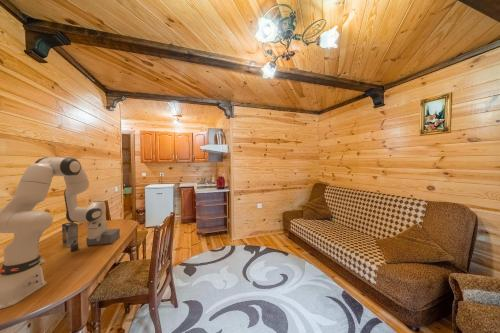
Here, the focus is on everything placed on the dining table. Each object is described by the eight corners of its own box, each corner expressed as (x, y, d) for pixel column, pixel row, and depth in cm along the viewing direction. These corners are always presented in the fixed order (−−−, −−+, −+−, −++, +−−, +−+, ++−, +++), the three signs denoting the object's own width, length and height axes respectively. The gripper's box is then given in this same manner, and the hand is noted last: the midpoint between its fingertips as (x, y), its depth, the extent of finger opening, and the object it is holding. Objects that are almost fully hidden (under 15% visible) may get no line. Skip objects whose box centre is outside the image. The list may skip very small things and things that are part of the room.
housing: (111, 243, 144) (111, 234, 144) (87, 246, 140) (87, 236, 140) (119, 236, 158) (119, 228, 158) (97, 238, 154) (97, 230, 154)
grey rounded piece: (75, 251, 132) (75, 245, 132) (69, 251, 131) (69, 246, 131) (79, 248, 136) (79, 243, 136) (72, 249, 135) (72, 243, 135)
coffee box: (62, 245, 141) (61, 224, 141) (73, 242, 147) (72, 221, 146) (67, 248, 137) (66, 226, 137) (78, 244, 143) (78, 223, 142)
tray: (111, 242, 143) (111, 236, 143) (86, 245, 139) (86, 237, 139) (118, 236, 156) (118, 229, 156) (96, 237, 152) (96, 231, 152)
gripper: (100, 218, 149) (100, 235, 149) (85, 227, 129) (85, 246, 130) (109, 218, 151) (109, 235, 151) (96, 226, 131) (96, 245, 131)
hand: (98, 240), depth 140 cm, fingers closed
